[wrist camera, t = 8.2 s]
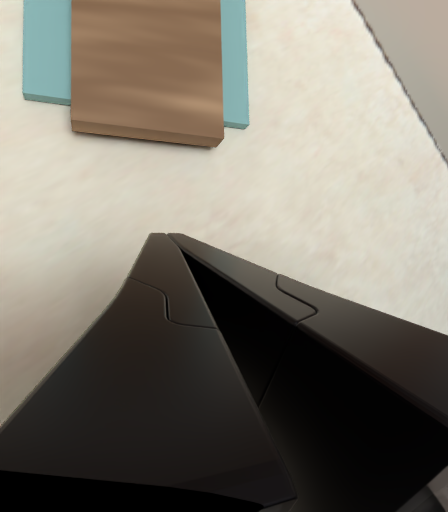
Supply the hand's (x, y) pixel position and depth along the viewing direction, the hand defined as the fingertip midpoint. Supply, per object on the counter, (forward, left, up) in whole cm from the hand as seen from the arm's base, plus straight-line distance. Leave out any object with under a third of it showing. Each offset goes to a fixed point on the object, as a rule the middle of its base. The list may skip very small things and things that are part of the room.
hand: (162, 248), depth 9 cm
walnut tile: (+5, -3, -7) cm, 10 cm away
